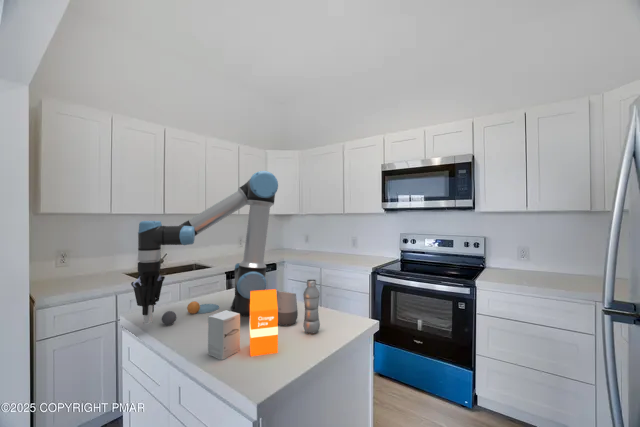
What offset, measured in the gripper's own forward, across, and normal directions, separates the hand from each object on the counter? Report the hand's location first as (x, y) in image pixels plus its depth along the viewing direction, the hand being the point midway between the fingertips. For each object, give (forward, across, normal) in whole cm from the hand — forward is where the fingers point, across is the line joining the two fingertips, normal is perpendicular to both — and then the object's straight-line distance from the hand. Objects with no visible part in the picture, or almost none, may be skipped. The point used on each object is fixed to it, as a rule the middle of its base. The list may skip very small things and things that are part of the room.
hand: (147, 322), depth 107 cm
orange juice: (+4, -2, +48) cm, 49 cm away
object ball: (+1, -24, 0) cm, 24 cm away
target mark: (+4, -31, 0) cm, 31 cm away
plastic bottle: (+4, -20, +59) cm, 63 cm away
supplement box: (+4, +4, +37) cm, 38 cm away
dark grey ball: (+2, -10, 0) cm, 10 cm away
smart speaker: (+4, -26, +46) cm, 53 cm away
